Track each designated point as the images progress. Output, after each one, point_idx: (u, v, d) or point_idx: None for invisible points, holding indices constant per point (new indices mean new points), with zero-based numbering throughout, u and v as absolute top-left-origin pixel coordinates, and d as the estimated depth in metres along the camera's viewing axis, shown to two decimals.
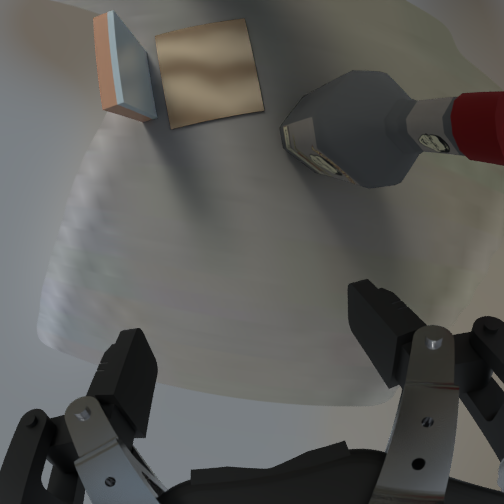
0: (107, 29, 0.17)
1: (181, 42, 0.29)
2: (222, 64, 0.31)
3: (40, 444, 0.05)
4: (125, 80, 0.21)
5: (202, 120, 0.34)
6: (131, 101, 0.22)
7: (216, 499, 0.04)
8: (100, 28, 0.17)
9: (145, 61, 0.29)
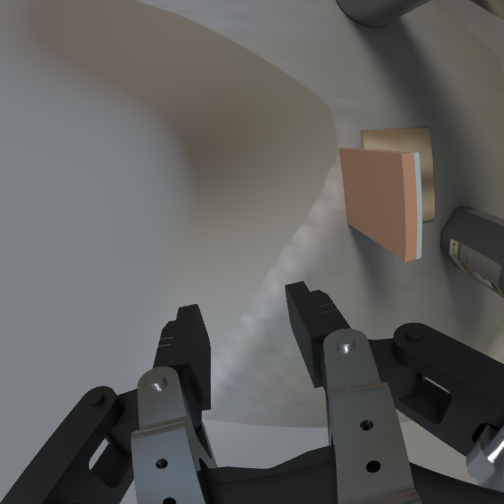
0: (415, 176, 0.22)
1: (384, 145, 0.34)
2: None
3: (99, 427, 0.05)
4: None
5: None
6: None
7: (216, 499, 0.04)
8: (409, 172, 0.22)
9: None
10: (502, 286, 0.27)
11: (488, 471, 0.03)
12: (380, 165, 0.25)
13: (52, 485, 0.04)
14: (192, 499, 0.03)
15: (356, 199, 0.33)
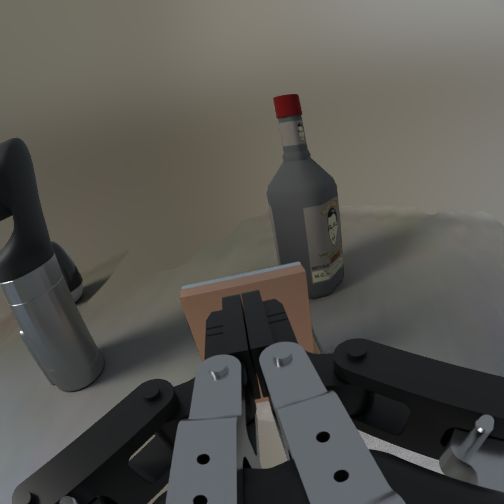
0: (205, 284, 0.23)
1: None
2: None
3: (149, 424, 0.06)
4: None
5: (313, 340, 0.35)
6: None
7: None
8: (200, 289, 0.23)
9: None
10: (320, 198, 0.38)
11: (468, 472, 0.03)
12: None
13: (83, 477, 0.04)
14: (225, 501, 0.03)
15: None
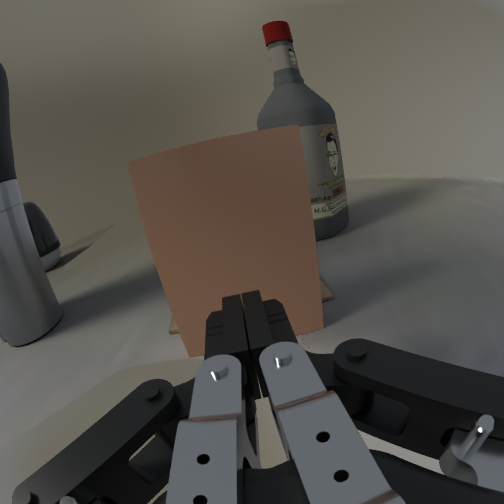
0: None
1: None
2: None
3: (149, 424, 0.06)
4: None
5: None
6: None
7: None
8: None
9: None
10: (317, 117, 0.31)
11: (468, 471, 0.03)
12: (164, 218, 0.17)
13: (83, 477, 0.04)
14: (225, 501, 0.03)
15: None
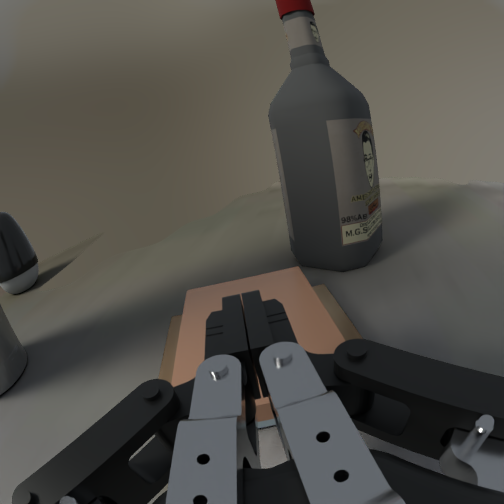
0: None
1: None
2: None
3: (149, 424, 0.06)
4: None
5: (357, 334, 0.18)
6: None
7: None
8: None
9: None
10: (351, 108, 0.22)
11: (468, 472, 0.03)
12: (199, 309, 0.22)
13: (83, 477, 0.04)
14: (225, 501, 0.03)
15: None
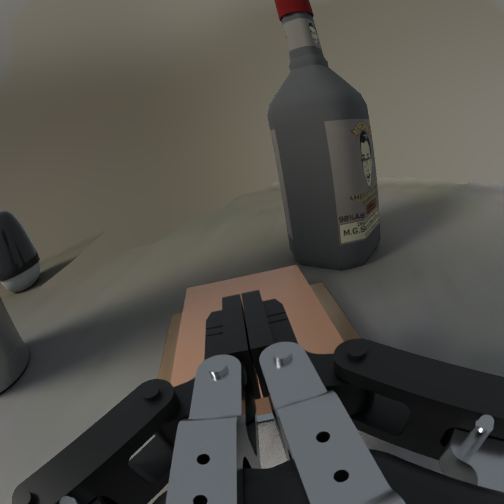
0: None
1: None
2: None
3: (149, 424, 0.06)
4: None
5: (353, 331, 0.19)
6: None
7: None
8: None
9: None
10: (349, 109, 0.22)
11: (468, 472, 0.03)
12: (199, 307, 0.22)
13: (83, 477, 0.04)
14: (225, 501, 0.03)
15: None
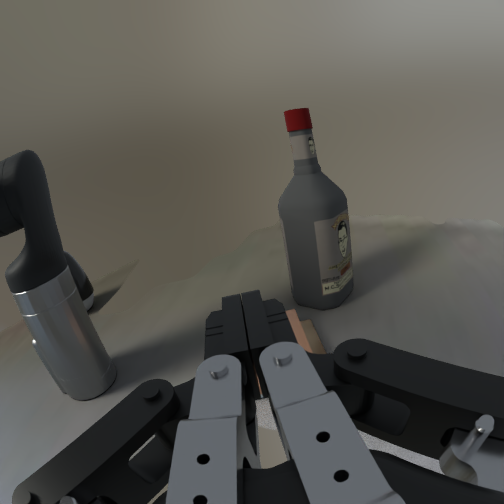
0: None
1: None
2: None
3: (149, 424, 0.06)
4: None
5: (323, 351, 0.35)
6: None
7: None
8: None
9: None
10: (331, 212, 0.39)
11: (468, 472, 0.03)
12: None
13: (83, 477, 0.04)
14: (225, 501, 0.03)
15: None
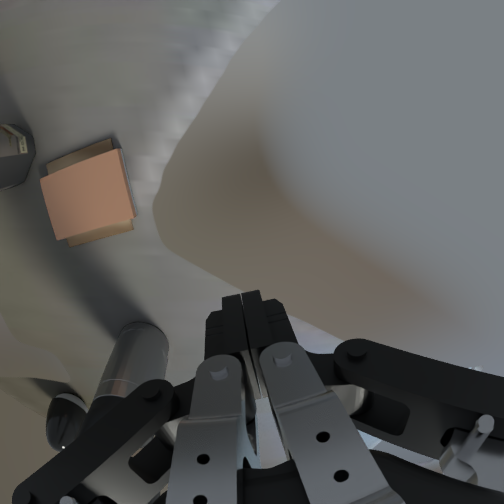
0: None
1: None
2: None
3: (149, 424, 0.06)
4: None
5: (86, 148, 0.35)
6: None
7: None
8: None
9: None
10: None
11: (468, 472, 0.03)
12: (72, 226, 0.37)
13: (83, 477, 0.04)
14: (224, 501, 0.03)
15: (101, 182, 0.36)
